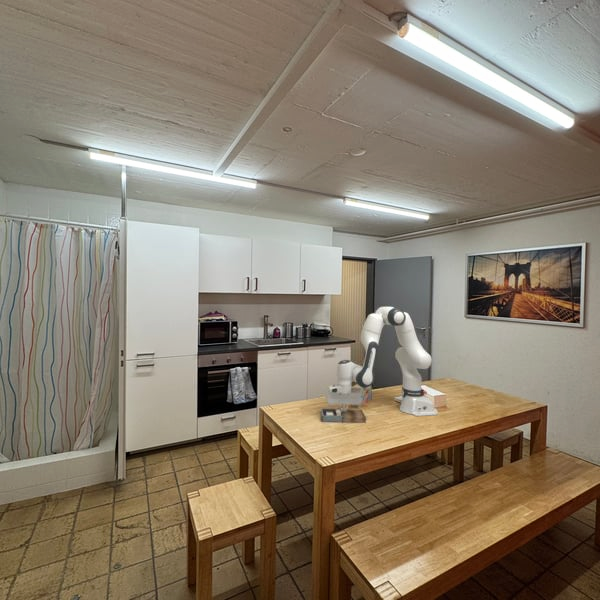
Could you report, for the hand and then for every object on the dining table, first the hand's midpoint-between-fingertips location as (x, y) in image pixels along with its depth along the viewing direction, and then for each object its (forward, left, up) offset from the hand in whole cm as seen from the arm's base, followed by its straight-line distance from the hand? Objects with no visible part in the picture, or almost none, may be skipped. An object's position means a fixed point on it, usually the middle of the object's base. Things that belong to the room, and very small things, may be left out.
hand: (343, 411), depth 182 cm
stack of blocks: (-16, -27, -5) cm, 31 cm away
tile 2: (+4, 0, -2) cm, 4 cm away
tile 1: (+8, 0, -1) cm, 8 cm away
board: (-6, 0, -4) cm, 7 cm away
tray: (+7, 0, -4) cm, 8 cm away
